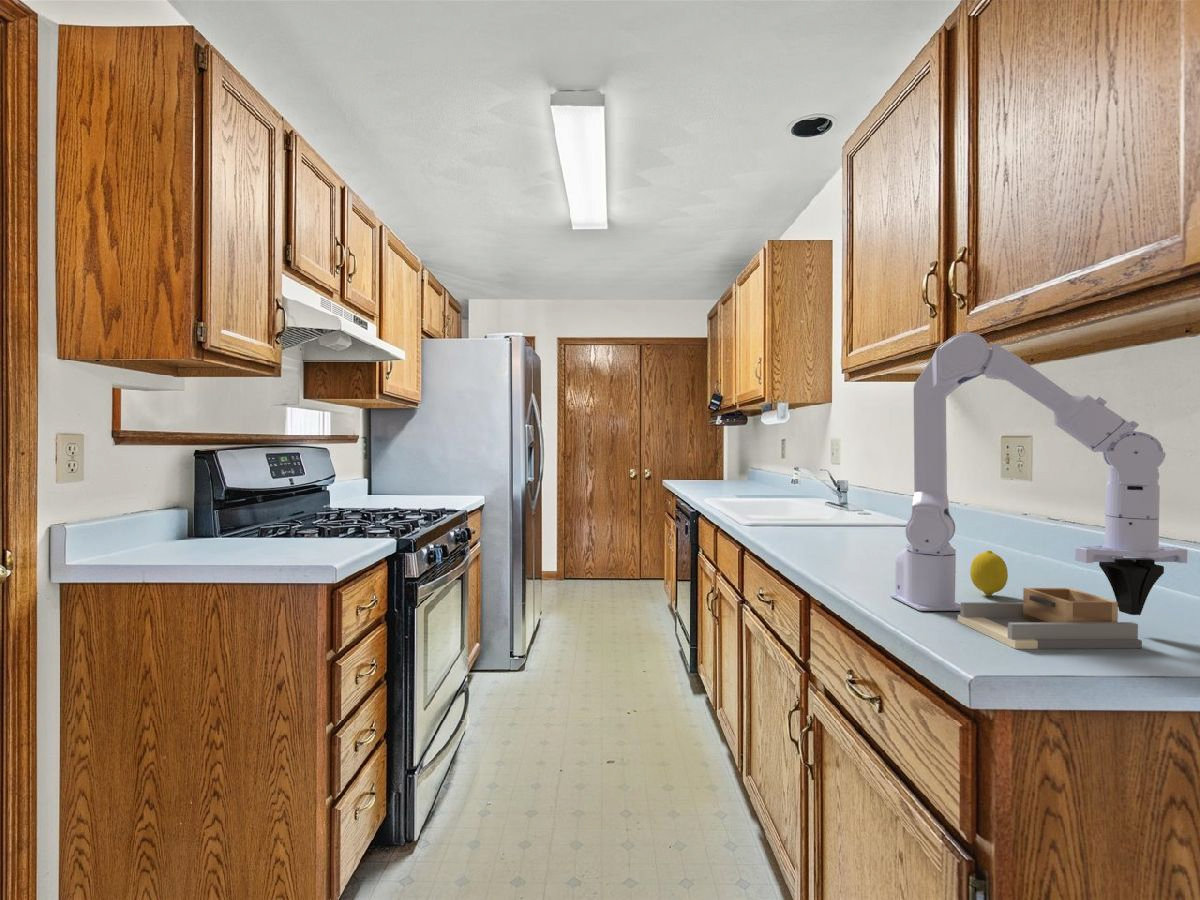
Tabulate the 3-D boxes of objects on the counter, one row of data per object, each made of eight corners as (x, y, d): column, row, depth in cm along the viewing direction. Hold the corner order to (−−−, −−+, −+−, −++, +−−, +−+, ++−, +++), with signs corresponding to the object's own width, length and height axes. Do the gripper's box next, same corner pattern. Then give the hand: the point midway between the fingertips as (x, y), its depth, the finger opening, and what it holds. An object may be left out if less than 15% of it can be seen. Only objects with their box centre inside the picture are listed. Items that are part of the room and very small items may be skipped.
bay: (957, 621, 91) (958, 601, 91) (1068, 621, 91) (1068, 601, 91) (1015, 648, 79) (1015, 625, 79) (1141, 648, 79) (1142, 625, 79)
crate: (1018, 617, 89) (1019, 588, 89) (1069, 617, 89) (1069, 587, 89) (1062, 635, 81) (1062, 602, 81) (1117, 634, 81) (1117, 602, 81)
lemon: (992, 592, 109) (993, 547, 109) (1015, 600, 104) (1015, 553, 104) (962, 592, 109) (963, 547, 109) (983, 600, 103) (984, 553, 103)
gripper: (1106, 520, 81) (1104, 621, 81) (1210, 520, 82) (1208, 621, 82) (1064, 514, 88) (1062, 607, 88) (1160, 514, 89) (1158, 607, 89)
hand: (1129, 613), depth 85 cm, fingers closed
